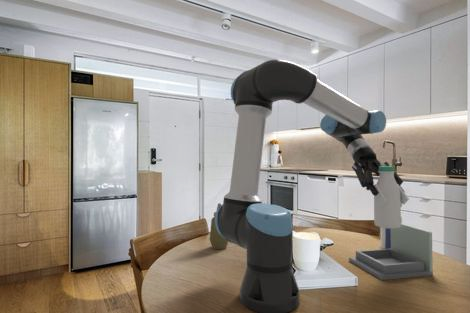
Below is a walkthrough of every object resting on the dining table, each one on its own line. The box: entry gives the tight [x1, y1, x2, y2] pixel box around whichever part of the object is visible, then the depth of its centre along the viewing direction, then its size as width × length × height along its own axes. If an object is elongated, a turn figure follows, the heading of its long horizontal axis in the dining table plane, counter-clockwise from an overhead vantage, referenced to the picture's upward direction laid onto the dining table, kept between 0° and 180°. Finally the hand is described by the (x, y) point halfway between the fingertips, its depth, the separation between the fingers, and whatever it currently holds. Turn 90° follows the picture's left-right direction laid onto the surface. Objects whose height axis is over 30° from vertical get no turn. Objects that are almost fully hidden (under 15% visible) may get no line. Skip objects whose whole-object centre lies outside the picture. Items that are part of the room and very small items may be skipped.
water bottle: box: [380, 201, 403, 249], centre depth 111 cm, size 8×9×25 cm
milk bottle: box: [373, 165, 402, 229], centre depth 91 cm, size 8×8×20 cm
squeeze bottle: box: [209, 203, 229, 250], centre depth 112 cm, size 8×8×18 cm
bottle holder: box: [348, 223, 434, 281], centre depth 90 cm, size 18×16×13 cm
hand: (395, 202), depth 87 cm, fingers closed on milk bottle, 7 cm apart
